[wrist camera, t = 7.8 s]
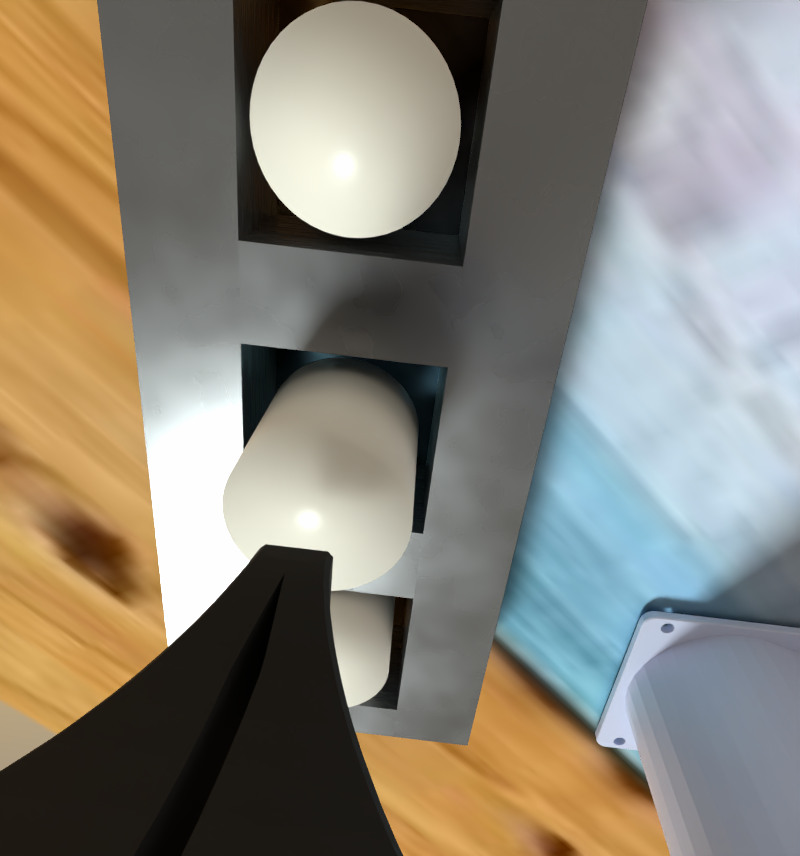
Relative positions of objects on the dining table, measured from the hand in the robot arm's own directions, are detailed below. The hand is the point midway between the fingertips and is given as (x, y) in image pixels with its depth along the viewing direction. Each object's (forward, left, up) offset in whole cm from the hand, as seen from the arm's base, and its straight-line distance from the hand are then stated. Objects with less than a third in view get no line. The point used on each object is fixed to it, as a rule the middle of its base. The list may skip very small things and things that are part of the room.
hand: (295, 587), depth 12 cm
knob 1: (0, -8, -9) cm, 12 cm away
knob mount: (0, 0, -10) cm, 10 cm away
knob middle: (0, 0, -7) cm, 7 cm away
